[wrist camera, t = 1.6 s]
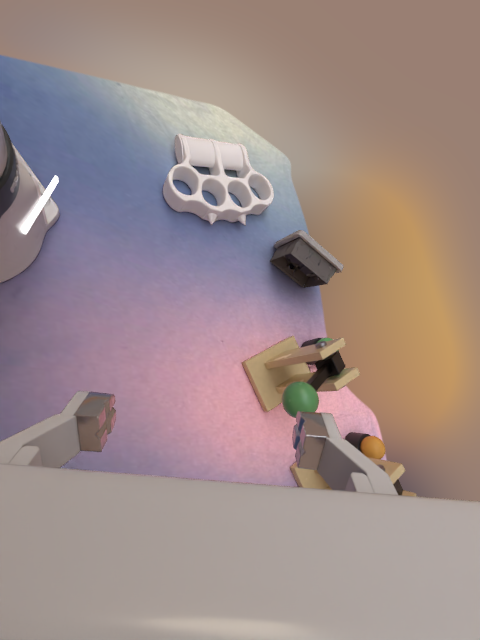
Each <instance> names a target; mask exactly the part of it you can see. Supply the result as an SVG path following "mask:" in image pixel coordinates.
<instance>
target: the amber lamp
mask: <svg viewBox="0 0 480 640" xmlns="http://www.w3.org/2000/svg"><path fill="white" fill-rule="evenodd" d="M345 440H347V441H348V442H349V443H350V444H352V445H353V446H354V447H355V448H356V449H358V450H359V451H360V452H361V453H362V454H364V455H365V456H366V457H369V458H374V459H381V458H382V457H383V456H384V454H385V446H384V444H383V442H382V441H381V440H380V439H379V438H377V437H375V436H370V435H368V434H362V433H349V434H348V435H347V436H346V438H345Z"/></svg>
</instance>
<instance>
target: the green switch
mask: <svg viewBox="0 0 480 640" xmlns="http://www.w3.org/2000/svg"><path fill="white" fill-rule="evenodd" d="M315 365H316V367H317V371H316V372H315V373H314V375H313V376H312V377H311V378H310V379H309V380H308V381H307V382H301V381H298V382H293V383H291V384H290V385H288V386H287V387H286V388H285V390H284V392H283V394H282V404H283V407H284V409H285V411H286V412H287V413H288V414H289V415H290V416H292V417H294V418H296V415H297V412H298V411H304V412H315V411H316V410H317V408H318V404H319V398H318V394H317V392H316V391H317V390H318V389H319V388H320V386H321V385H322V384H323V383H324V381H325V380H326V379H327V378H329V377H332V376H336V375H339V374H340V373H341V372H342V370H343V369H344V368H345V364H344V362H343V360H342V358H341V356H340V353H339V351H336V352H334V353H333V354H331V355H329V356H328V357H326V358H325V359H323V360H317V361H316V362H315Z"/></svg>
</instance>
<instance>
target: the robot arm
mask: <svg viewBox="0 0 480 640" xmlns="http://www.w3.org/2000/svg"><path fill="white" fill-rule="evenodd" d="M57 183H58V177H57V176H55V177H54V178H53V180H52V181H51V183H50V185H49V186H48V188H47V189H46V190H45V188H44V187H43V185H42V184H41V183H40V181H39V180H38V179H37V177H36V176H35V174H34V173H33V172H32V170H31V169H30V167H29V166H28V165H27V163H26V162H25V161H24V159H23V158H22V156H21V155H20V154H19V152H18V151H17V149H16V148H15V147H14V145H13V144H12V143H11V140H10V138H9V135H8V134H7V132H6V130H5V128H4V127H3V125H2V124H1V122H0V283H1V282H3V281H6V280H8V279H11V278H13V277H14V276H16V275H18V274H19V273H21V272H22V271H24V270H25V269H26V268H27V267H28V266H29V265H30V264H31V263H32V262H33V261H34V259H35V258H36V257H37V255H38V253H39V251H40V249H41V246H42V243H43V239H44V236H45V234H46V232H47V230H48V229H49V228H50V227H51V226H52V225H53V224H54V223H55V222H56V221H57V220H58V218H59V215H60V213H59V209H58V207H57V205H56V204H55V202H54V201H53V199H52V198H51V197H50V195H51V193H52V191H53V190H54V188H55V186H56V185H57ZM45 203H46V204H45ZM114 404H115V396H114V394H107V393H98V392H88V391H78V392H76V394H75V395H74V396H73V398H72V399H71V400H70V401H69V403H68V404H67V405H66V407H65V408H64V409H63V411H62V412H61V413H60V414H56V415H54V416H52V417H49V418H47V419H45V420H43V421H41V422H39V423H37V424H35V425H33V426H31V427H29V428H27V429H25V430H23V431H21V432H19V433H17V434H15V435H13V436H11V437H9V438H7V439H5V440H3V441H0V640H480V501H466V500H454V499H441V498H428V497H416V496H403V495H398V493H397V491H396V489H395V487H394V485H393V483H392V481H391V479H390V477H389V475H388V474H387V473H386V472H384V471H383V470H382V469H381V468H380V467H378V466H377V465H376V464H375V463H373V462H372V461H371V460H370V459H369V458H367V457H366V456H365V455H364V454H362V453H361V452H360V451H359V450H358V449H356V448H355V447H354V446H353V445H352V444H350V443H349V442H348V441H347V440H345V439H342V438H341V435H340V433H339V430H338V428H337V425H336V422H335V420H334V417H333V415H332V414H331V413H315V412H304V411H298V412H297V415H296V422H297V424H296V425H295V426H294V428H293V437H292V439H293V447H294V449H295V450H296V454H295V457H296V462H297V467H298V468H302V469H311V470H317V472H318V473H319V474H320V475H321V477H322V478H323V479H324V480H325V481H326V483H327V484H328V485H329V486H330V488H331V489H332V490H328V489H315V488H302V487H290V486H277V485H265V484H252V483H240V482H227V481H215V480H202V479H189V478H177V477H164V476H152V475H139V474H127V473H114V472H102V471H89V470H77V469H64V468H60V467H61V466H62V465H64V464H65V463H66V462H68V461H69V460H70V459H72V458H73V457H74V456H76V455H77V454H78V453H79V452H80V451H94V452H101V451H102V449H103V447H104V445H105V444H106V442H107V435H108V434H109V433H111V432H112V430H113V427H114V424H115V420H116V410H115V409H114V408H113V406H114Z"/></svg>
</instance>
